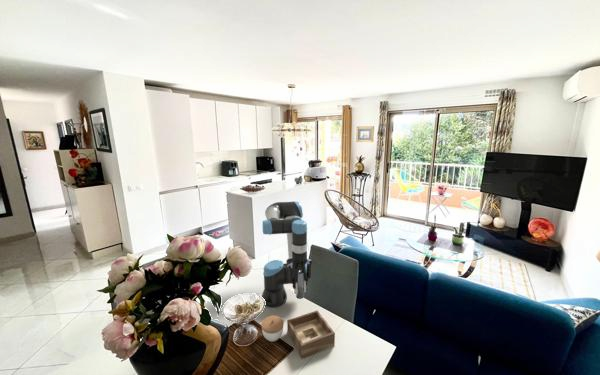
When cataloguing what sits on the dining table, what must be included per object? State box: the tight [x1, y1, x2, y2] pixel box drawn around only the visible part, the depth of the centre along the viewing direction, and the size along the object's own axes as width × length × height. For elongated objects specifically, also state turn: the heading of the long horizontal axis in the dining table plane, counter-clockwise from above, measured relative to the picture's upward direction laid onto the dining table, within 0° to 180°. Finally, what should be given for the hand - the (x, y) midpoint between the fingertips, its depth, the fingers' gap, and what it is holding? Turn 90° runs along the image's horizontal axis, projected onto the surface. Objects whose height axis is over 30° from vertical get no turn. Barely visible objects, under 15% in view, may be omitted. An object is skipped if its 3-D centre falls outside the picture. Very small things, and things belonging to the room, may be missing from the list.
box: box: [286, 310, 336, 360], centre depth 120 cm, size 17×17×7 cm
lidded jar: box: [260, 315, 285, 342], centre depth 122 cm, size 11×11×9 cm
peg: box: [295, 270, 305, 300], centre depth 130 cm, size 4×4×14 cm
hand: (299, 292), depth 130 cm, fingers closed on peg, 4 cm apart
